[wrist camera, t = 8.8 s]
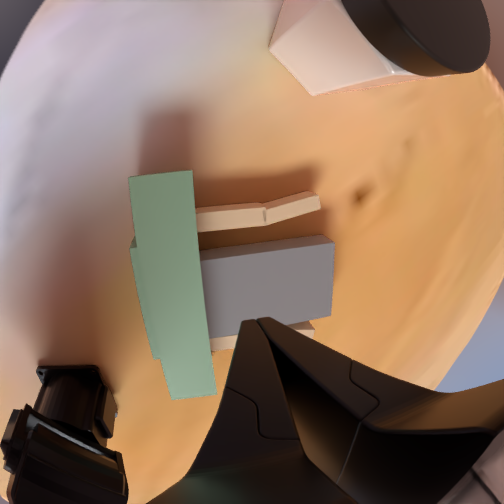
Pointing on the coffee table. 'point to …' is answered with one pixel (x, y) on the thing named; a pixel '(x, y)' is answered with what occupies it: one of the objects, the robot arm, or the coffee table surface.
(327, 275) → the slate tile
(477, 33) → the jar
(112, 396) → the robot arm
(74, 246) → the coffee table surface
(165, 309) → the dock
